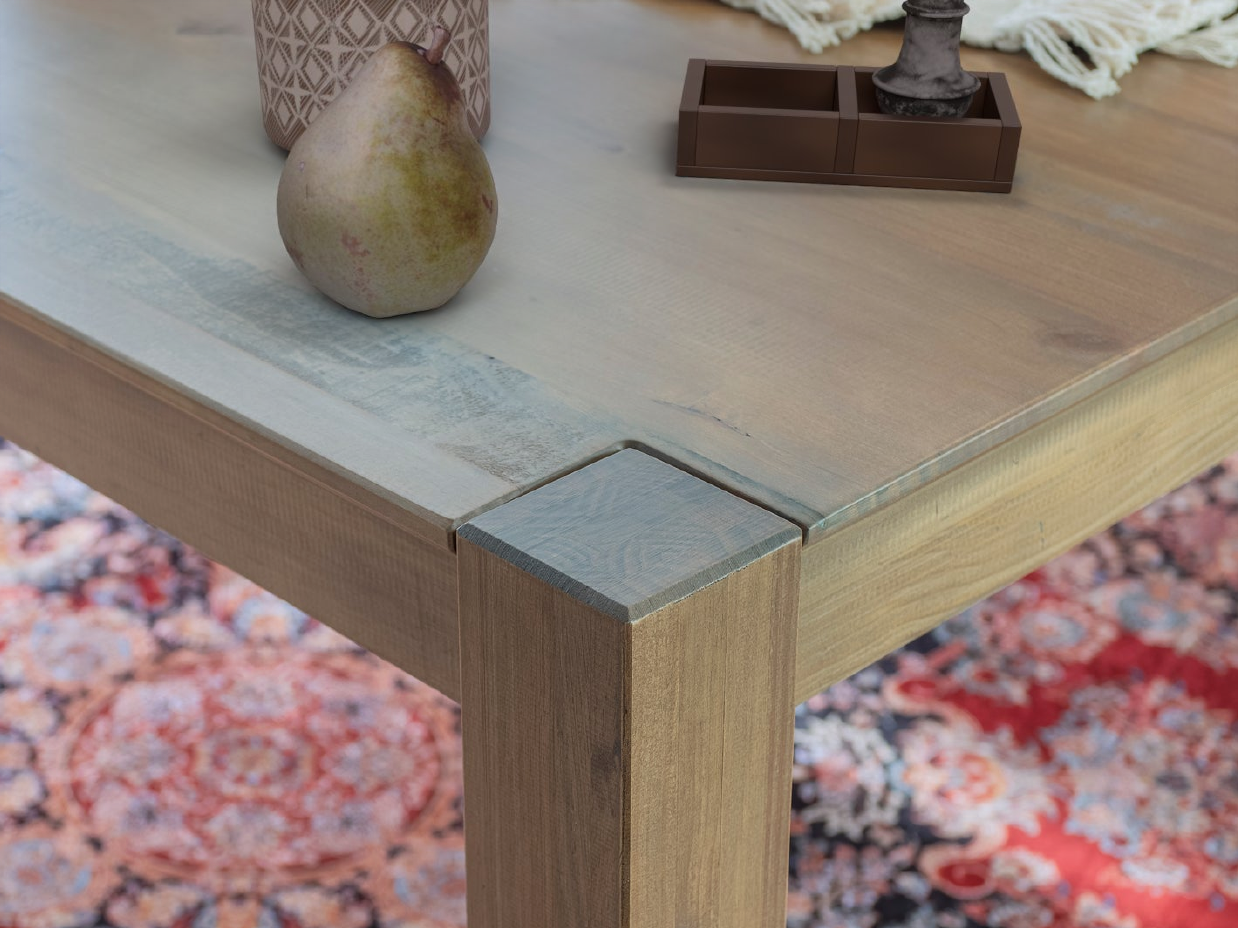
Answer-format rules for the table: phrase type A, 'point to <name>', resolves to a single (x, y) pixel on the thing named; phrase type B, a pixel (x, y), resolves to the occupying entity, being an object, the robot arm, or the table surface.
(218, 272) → the table surface
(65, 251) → the table surface
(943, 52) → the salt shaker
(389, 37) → the planter
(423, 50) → the fruit
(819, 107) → the rack
